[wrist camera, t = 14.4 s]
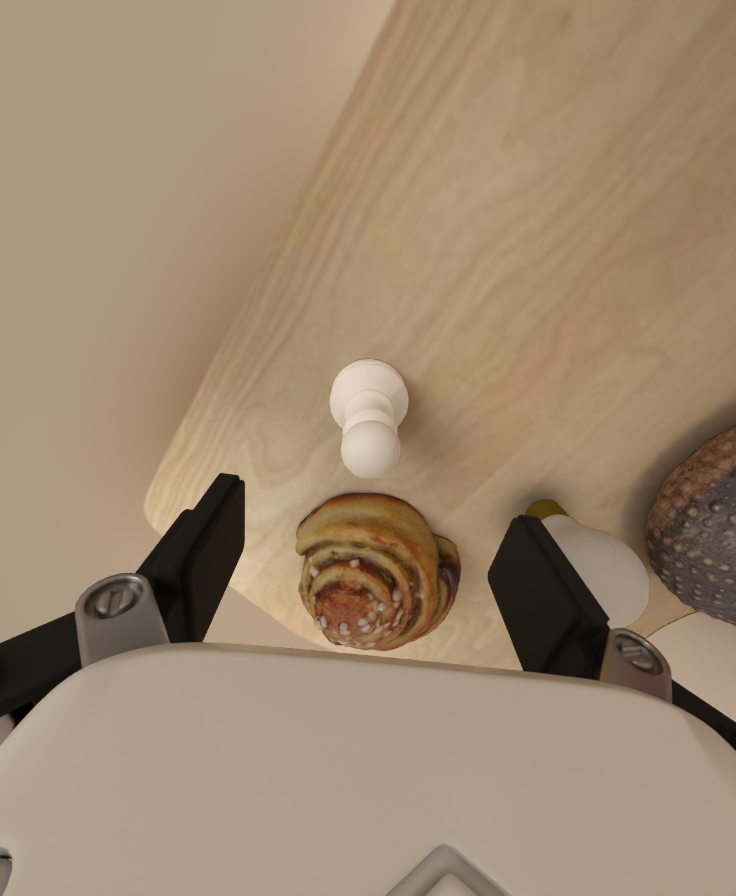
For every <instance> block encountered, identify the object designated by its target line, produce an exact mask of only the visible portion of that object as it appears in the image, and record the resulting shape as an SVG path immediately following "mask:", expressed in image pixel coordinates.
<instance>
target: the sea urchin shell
mask: <svg viewBox="0 0 736 896" xmlns="http://www.w3.org/2000/svg"><path fill="white" fill-rule="evenodd" d="M644 527H645V540H646V542H647V553H648V555H649V558H650V563H651V566H652V568H653V569H654V572H655V573H656V574H657V575H658V577H659V578H660V579H661V582H662V583H663V584H665V585H666V587H667V588H668V590H669V591H671V592H672V593H673V594H674V595H676V596H677V597H678V598H679V599H680V601H681V602H682V603H683V604H685V605H689V606H692V608H693V609H694V610H695V611H698V612H702V613H705V614H707V615H709V616H710V617H712V618H713V619H719V620H722V621H723V622H726V623H730V624H732V625H734V626H736V427H734V428H732V429H730V430H729V431H727V432H725V433H723V434H720V435H718V436H716V437H715V438H714V439H712V440H709V441H707V442H705V443H704V444H703V445H702V446H701V448H700V449H698V450H697V451H695V452H694V453H693V454H692V455H691V456H690V457H689V458H688V459H687V460H685V461H684V462H683V463H682V464H680V465H679V466H678V467H677V468H675V469H674V470H673V471H672V472H671V474H670V475H669V476H668V478H667V479H666V480H665V482H664V483H663V484H662V489H661V490H660V492H659V493H658V495H657V500H656V503H655V505H654V506H653V507H652V508H651V510H650V512H649V514H648V515H647V523H646V524H645V526H644Z"/></svg>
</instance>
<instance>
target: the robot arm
mask: <svg viewBox="0 0 736 896" xmlns="http://www.w3.org/2000/svg"><path fill="white" fill-rule="evenodd" d="M244 543H245V482H244V480H240V478H239V476H238V475H232V474H225V473H220V474H219V475H218V476H217V478H216V479H215V480H214V482H213V483H212V485H211V486H210V487H209V489H208V490H207V491H206V493H205V494H204V496H203V497H202V498H201V500H200V501H199V502H198V504H197V505H196V507H195V508H194V509H193V510H189V509H186V510H184V511H183V512H182V513H181V514H180V515H179V517H178V518H177V519H176V521H175V522H174V523H173V524H172V526H171V527H170V528H169V530H168V531H167V532H166V534H165V535H164V536H163V537H162V539H161V540H160V541H159V543H158V544H157V545H156V547H155V548H154V549H153V551H152V552H151V553H150V555H149V556H148V557H147V558H146V560H145V561H144V562H143V564H142V565H141V566H140V568H139V569H138V570H137V571H136V573H120V574H117V575H113V576H109V577H107V578H104V579H102V580H100V581H98V582H97V583H95V584H93V585H92V586H90V587H89V588H88V589H87V590H86V591H85V592H84V593H83V594H82V595H81V596H80V598H79V599H78V601H77V603H76V606H75V611H74V612H72V613H69V614H67V615H65V616H62V617H60V618H58V619H55V620H53V621H51V622H48V623H46V624H44V625H42V626H39V627H37V628H34V629H32V630H30V631H27V632H25V633H23V634H20V635H18V636H16V637H13V638H11V639H9V640H7V641H4V642H2V643H0V896H736V722H735V721H733V720H732V719H730V718H729V717H727V716H726V715H724V714H723V713H721V712H720V711H719V710H717V709H716V708H714V707H713V706H711V705H710V704H708V703H707V702H705V701H704V700H702V699H701V698H699V697H698V696H696V695H695V694H693V693H692V692H690V691H689V690H687V689H686V688H684V687H683V686H682V685H680V684H679V683H677V682H676V681H674V680H673V679H672V676H671V669H670V666H669V664H668V662H667V660H666V659H665V657H664V656H663V655H662V654H661V652H660V651H659V650H658V649H657V648H656V647H655V646H654V645H653V644H651V643H650V642H649V641H648V640H646V639H645V638H643V637H642V636H641V635H639V634H637V633H635V632H633V631H631V630H627V629H624V628H614V629H610V627H609V626H608V624H607V622H608V621H609V620H610V618H609V617H608V615H607V614H606V613H605V611H604V610H603V608H602V607H601V605H600V604H599V603H598V601H597V600H596V598H595V597H594V596H593V594H592V593H591V591H590V590H589V588H588V587H587V586H586V584H585V583H584V581H583V580H582V578H581V577H580V576H579V574H578V573H577V571H576V570H575V568H574V567H573V566H572V564H571V563H570V561H569V560H568V558H567V557H566V556H565V554H564V553H563V551H562V550H561V548H560V547H559V546H558V544H557V543H556V541H555V540H554V538H553V537H552V536H551V534H550V533H549V531H548V530H547V528H546V527H545V526H544V524H543V523H542V521H541V520H540V519H539V518H538V517H536V516H530V515H523V514H521V515H519V516H518V517H517V518H514V519H513V520H512V521H511V524H510V526H509V528H508V530H507V532H506V534H505V537H504V539H503V541H502V543H501V545H500V547H499V549H498V552H497V554H496V556H495V558H494V560H493V562H492V565H491V567H490V569H489V571H488V582H489V584H490V587H491V590H492V592H493V595H494V597H495V600H496V602H497V605H498V607H499V610H500V612H501V615H502V618H503V620H504V623H505V625H506V628H507V630H508V633H509V635H510V638H511V640H512V643H513V646H514V648H515V651H516V653H517V656H518V658H519V661H520V663H521V666H522V668H523V671H516V670H507V669H497V668H488V667H478V666H469V665H459V664H449V663H439V662H429V661H419V660H409V659H399V658H388V657H378V656H368V655H357V654H347V653H336V652H325V651H314V650H304V649H303V650H302V649H293V648H282V647H269V646H255V645H243V644H230V643H204V642H203V639H204V637H205V635H206V633H207V630H208V628H209V626H210V624H211V622H212V619H213V617H214V615H215V613H216V610H217V608H218V606H219V603H220V601H221V599H222V597H223V594H224V592H225V590H226V588H227V585H228V583H229V581H230V579H231V576H232V574H233V572H234V570H235V567H236V565H237V563H238V561H239V558H240V556H241V554H242V551H243V548H244ZM8 859H12V861H11V860H8Z"/></svg>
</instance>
